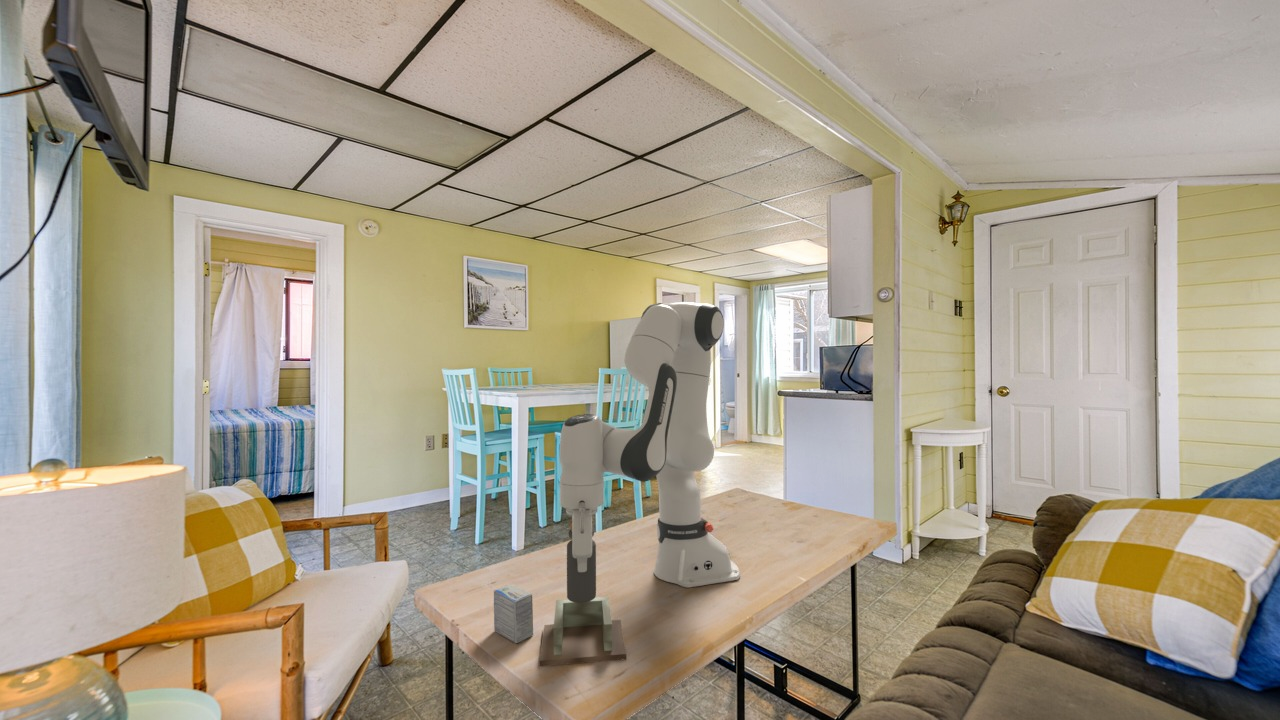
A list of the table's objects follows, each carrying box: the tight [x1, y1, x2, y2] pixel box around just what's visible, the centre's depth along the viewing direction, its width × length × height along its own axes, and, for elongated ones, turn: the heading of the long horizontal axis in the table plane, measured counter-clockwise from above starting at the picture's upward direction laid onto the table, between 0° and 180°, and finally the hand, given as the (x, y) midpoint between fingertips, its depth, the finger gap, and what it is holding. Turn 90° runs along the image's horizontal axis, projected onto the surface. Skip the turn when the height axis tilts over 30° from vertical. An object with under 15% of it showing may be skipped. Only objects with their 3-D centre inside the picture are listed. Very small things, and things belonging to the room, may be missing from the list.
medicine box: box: [493, 583, 534, 644], centre depth 104 cm, size 8×4×9 cm, turn 48°
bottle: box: [566, 520, 597, 603], centre depth 102 cm, size 6×6×15 cm
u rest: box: [539, 596, 627, 667], centre depth 100 cm, size 16×13×6 cm
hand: (582, 564), depth 102 cm, fingers closed on bottle, 5 cm apart
